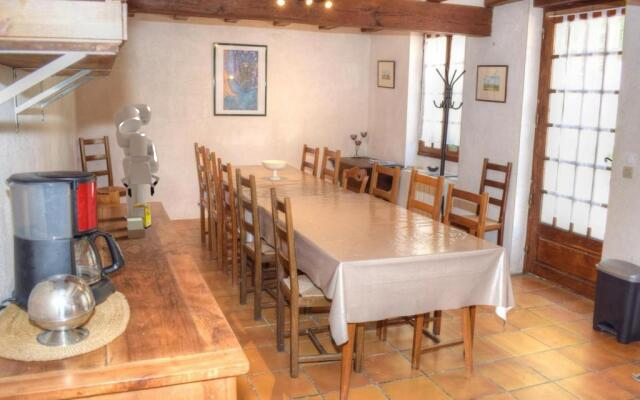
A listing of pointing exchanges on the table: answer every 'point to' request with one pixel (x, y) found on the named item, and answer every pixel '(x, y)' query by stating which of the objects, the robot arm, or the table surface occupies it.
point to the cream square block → (134, 223)
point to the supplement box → (143, 213)
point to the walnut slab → (136, 233)
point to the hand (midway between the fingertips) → (141, 196)
